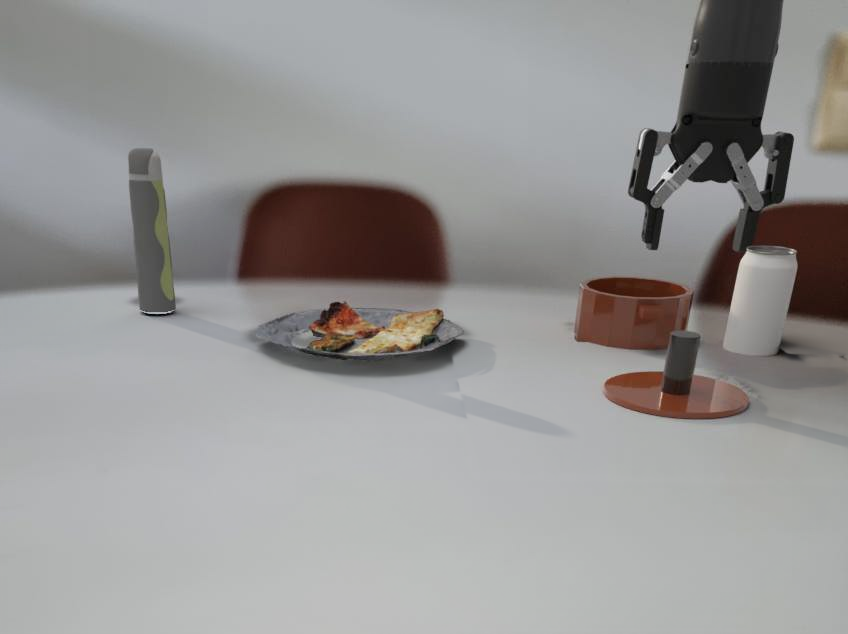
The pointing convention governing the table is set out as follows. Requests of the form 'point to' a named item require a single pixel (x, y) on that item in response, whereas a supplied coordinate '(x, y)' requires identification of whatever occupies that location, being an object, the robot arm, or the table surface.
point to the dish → (631, 312)
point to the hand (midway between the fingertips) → (694, 250)
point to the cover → (677, 386)
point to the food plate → (363, 332)
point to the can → (760, 300)
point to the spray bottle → (150, 231)
